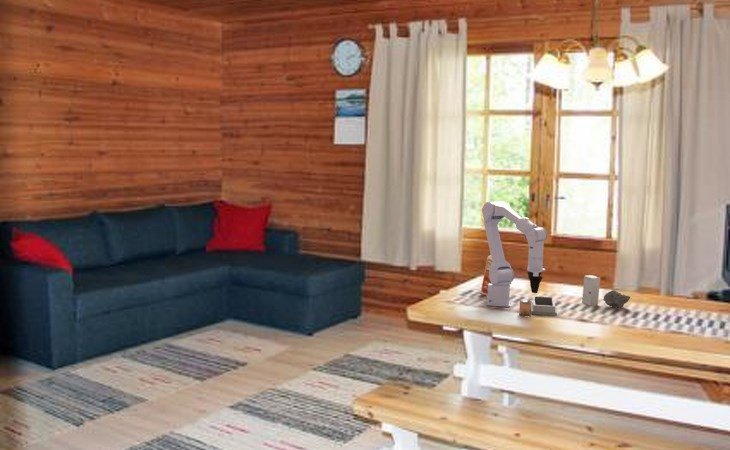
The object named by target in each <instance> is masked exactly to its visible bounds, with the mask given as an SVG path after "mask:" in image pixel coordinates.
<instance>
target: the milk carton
mask: <svg viewBox="0 0 730 450" xmlns="http://www.w3.org/2000/svg"><path fill="white" fill-rule="evenodd" d="M492 263H493V262H492V258H491V254H490V255H488V256H487V258H486V262H485V267H484V268H485V269H484V274H483V277H482V278H483V279H482V282H481V288H480V294H482V295H484V296H486V297H487V296H488V284H491V281H490V279H489V267H490V266H491V264H492ZM498 269H501V268H498Z"/></svg>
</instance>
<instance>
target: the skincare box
mask: <svg viewBox="0 0 730 450" xmlns="http://www.w3.org/2000/svg"><path fill="white" fill-rule="evenodd" d="M600 284H601V277H598V276H596V275H592V274H591V275H590V274H589V275H584V276H583V287H582V300H581V302H582V303H583V304H585V305H588V306H598V305H599V295H600V287H601V285H600Z"/></svg>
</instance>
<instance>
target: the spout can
mask: <svg viewBox="0 0 730 450" xmlns="http://www.w3.org/2000/svg"><path fill="white" fill-rule="evenodd" d="M531 305H533V300H531V299H530V298H529V299H521V300H519V309H518V310H519V313H518V314H519V316H520V317H525V316H529V317H531V316H532V314H531Z"/></svg>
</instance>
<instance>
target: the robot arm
mask: <svg viewBox="0 0 730 450" xmlns="http://www.w3.org/2000/svg"><path fill="white" fill-rule="evenodd" d="M481 212H482V216H483V226H484V231H485V234H486V239H487V244H488V247H489V254H490V255H491V258H492V262H493V263H492V264H491V266H490V267H489V279H490V281H491V284H488V296H487V295H486V301H487V304H486V306H489V307H490V306H493V307H504V308H505V307H507V308H510V307H511V302H510V295H511V294H510V290H511V284H512V282H513V281H514V279H515V272H514V270H513V269H512V266H511V263H509V262H508V261H507V260H506V258H505V257H506V256H505V253H504V248H503V244H502V240H501V235H500V231H499V226H498V225H499V223H500V222H501V221H502V220H503V218H506V219H507V220H509V221H510V222H512V223H513V224H514V225H515V228H516V230H518V231H519V232H521V233H522V234H523V235H525V238H526V241H527V245H528V253H527V254H528V255H527V256H528V257H527V258H528V259H527V261H528V262H527V268H526V271H527V278H528V279H529V284H530V289H531V293H532V294H538V293H539V289H540V288H539V287H540V285H541V284H540V283H541V281H542V280H543V277H544V276H543V275H542V272H546V268H543V265H544V264H543V263H544V244H545V243H544V242H545V241H546V240H547V238H548V232H547V230H546V229H545V227H543V226H540V227H539V226H538V225H537V224H536V223H533V222H532V221H531V220H530V218H529V217H525V216H524V217H521V216H520V215H519V214H517V212H516V211H514V209H512V208H511V206H510V204H509V203H507V202H506V201H503V200H502V201H487V202H485V203H484V205H482V208H481ZM498 268H501V269H498ZM541 275H542V276H541Z"/></svg>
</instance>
